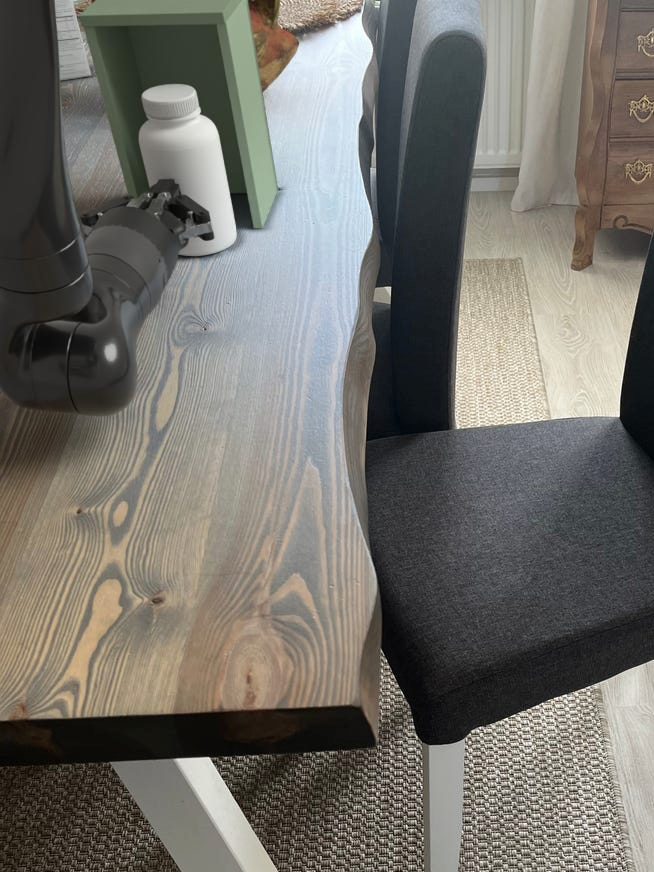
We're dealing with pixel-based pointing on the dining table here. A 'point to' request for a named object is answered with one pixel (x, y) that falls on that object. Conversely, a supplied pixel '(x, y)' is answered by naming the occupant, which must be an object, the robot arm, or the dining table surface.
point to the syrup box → (70, 42)
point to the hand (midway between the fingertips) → (169, 188)
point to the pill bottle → (188, 159)
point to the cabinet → (185, 82)
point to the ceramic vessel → (270, 40)
